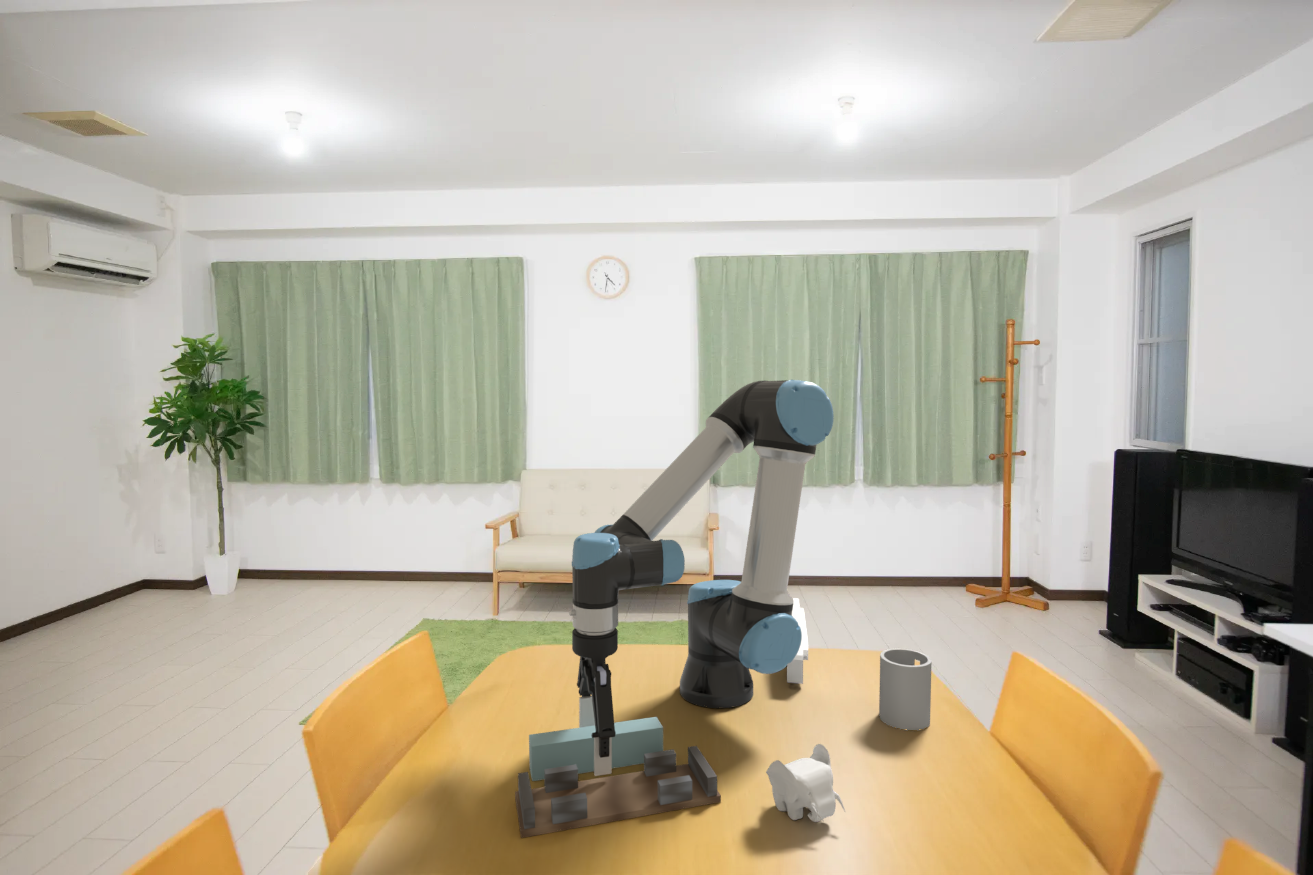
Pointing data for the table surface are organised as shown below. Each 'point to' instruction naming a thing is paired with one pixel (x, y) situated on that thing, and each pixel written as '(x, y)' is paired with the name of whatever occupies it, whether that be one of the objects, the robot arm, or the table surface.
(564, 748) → the rail
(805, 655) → the shelf bracket
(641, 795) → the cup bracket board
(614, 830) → the table surface
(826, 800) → the elephant figurine
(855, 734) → the table surface
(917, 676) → the cup
